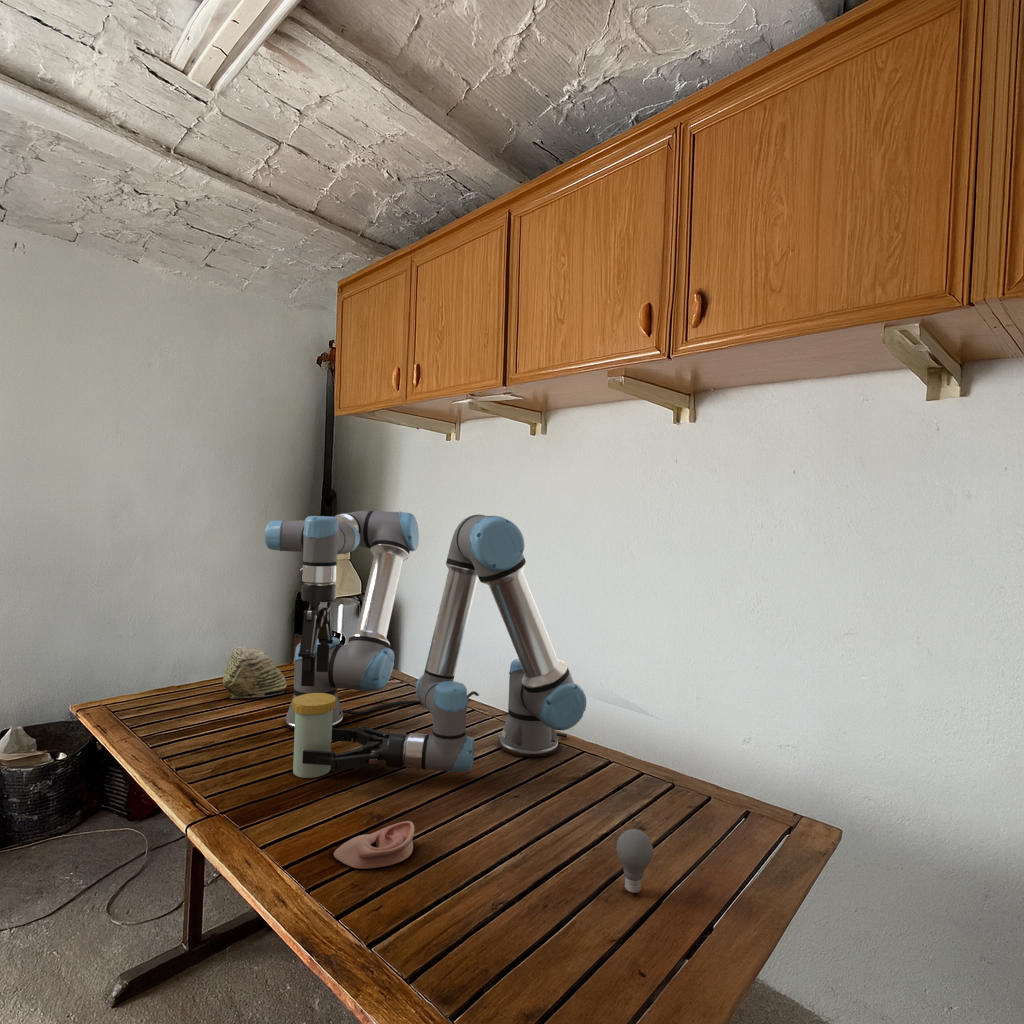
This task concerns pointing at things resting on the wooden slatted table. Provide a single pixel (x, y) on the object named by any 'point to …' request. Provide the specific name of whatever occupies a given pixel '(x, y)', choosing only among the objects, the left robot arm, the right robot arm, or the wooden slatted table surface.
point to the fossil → (252, 674)
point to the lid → (314, 703)
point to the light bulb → (634, 857)
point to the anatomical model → (378, 847)
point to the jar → (311, 742)
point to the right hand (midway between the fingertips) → (314, 744)
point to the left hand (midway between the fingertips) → (315, 678)
